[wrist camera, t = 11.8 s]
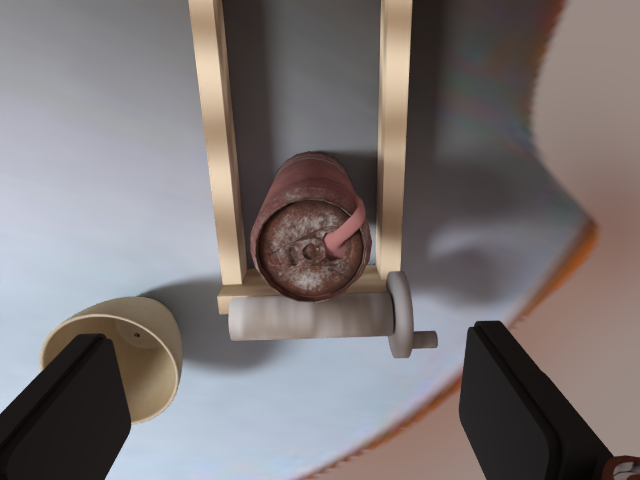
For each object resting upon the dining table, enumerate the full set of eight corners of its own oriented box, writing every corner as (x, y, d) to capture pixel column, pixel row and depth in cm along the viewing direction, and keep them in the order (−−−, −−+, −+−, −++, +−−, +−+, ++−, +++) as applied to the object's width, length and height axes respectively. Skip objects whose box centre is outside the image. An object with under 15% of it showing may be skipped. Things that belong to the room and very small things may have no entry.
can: (367, 183, 33) (404, 245, 19) (314, 239, 34) (315, 331, 21) (311, 131, 31) (310, 159, 18) (258, 191, 33) (221, 258, 19)
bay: (192, -65, 27) (127, -151, 17) (434, -72, 27) (499, -161, 17) (234, 307, 36) (206, 383, 27) (412, 302, 36) (447, 375, 27)
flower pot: (77, 344, 37) (25, 400, 31) (108, 253, 34) (58, 292, 28) (181, 383, 39) (153, 443, 32) (219, 299, 36) (197, 346, 29)
